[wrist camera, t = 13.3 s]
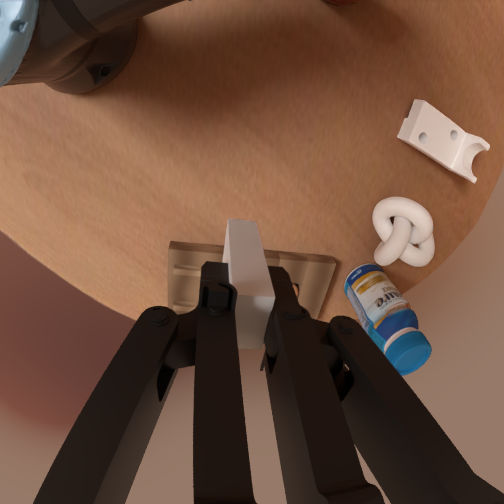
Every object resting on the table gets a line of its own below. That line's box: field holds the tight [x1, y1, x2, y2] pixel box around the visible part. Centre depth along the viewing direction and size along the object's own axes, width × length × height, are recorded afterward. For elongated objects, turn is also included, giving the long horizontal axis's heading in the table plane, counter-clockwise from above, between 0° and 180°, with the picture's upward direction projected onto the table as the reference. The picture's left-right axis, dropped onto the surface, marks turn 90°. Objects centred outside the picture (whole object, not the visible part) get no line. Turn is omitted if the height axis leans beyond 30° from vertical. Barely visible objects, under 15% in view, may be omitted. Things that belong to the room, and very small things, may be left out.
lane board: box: [168, 241, 336, 320], centre depth 49 cm, size 26×13×4 cm, turn 81°
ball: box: [292, 283, 298, 296], centre depth 50 cm, size 3×3×3 cm
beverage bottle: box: [344, 263, 432, 376], centre depth 44 cm, size 8×8×20 cm
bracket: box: [397, 99, 490, 183], centre depth 37 cm, size 13×7×8 cm, turn 71°
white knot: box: [372, 196, 435, 267], centre depth 44 cm, size 11×12×9 cm
